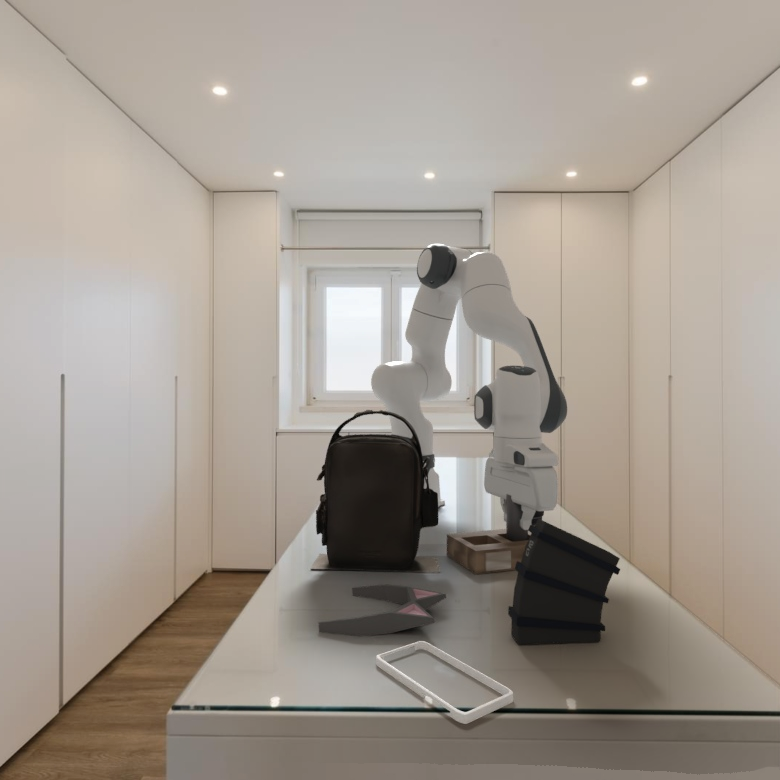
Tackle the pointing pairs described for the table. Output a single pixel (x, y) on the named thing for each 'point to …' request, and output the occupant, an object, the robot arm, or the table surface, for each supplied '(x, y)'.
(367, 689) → the table surface
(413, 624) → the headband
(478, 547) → the socket block
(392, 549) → the shoulder bag
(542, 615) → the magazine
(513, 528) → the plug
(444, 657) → the phone case
